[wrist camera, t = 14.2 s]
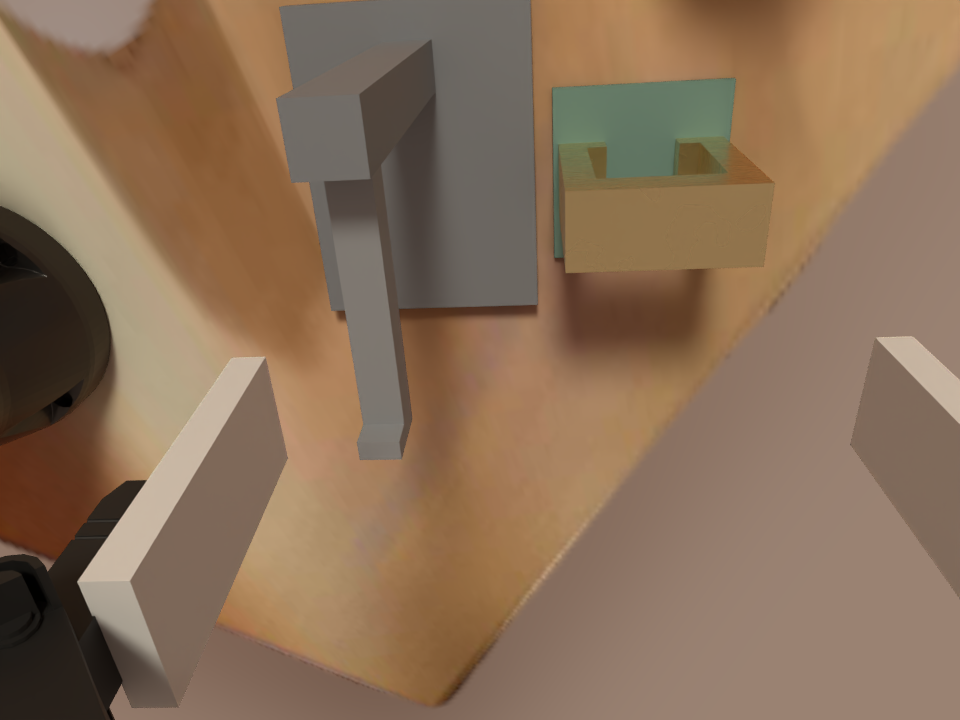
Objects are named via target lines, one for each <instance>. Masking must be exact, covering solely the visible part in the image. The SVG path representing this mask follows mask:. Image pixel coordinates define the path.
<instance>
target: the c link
mask: <svg viewBox="0 0 960 720" xmlns="http://www.w3.org/2000/svg"><path fill="white" fill-rule="evenodd" d="M558 166H559V217H560V226H561V236H562V245H563V254H564V264H565V273H587V272H618V271H649V270H680V269H711V268H742V267H764V260H765V253H766V245H767V238H768V230H769V223H770V215H771V208H772V200H773V193H774V185H775V183H774V182H773V181H772V180H771V179H770V178H769V177H768V176H767V175H766V174H764V173H763V172H762V171H761V170H760V169H759V168H758V167H757V166H756V165H755V164H753V163H752V162H751V161H750V160H749V159H748V158H747V157H746V156H745V155H744V154H742V153H741V152H740V151H739V150H738V149H737V148H736V147H735V146H734V145H733V144H732V143H730V142H729V141H728V140H727V139H726V138H725V137H724V136H717V137H696V138H676V141H675V156H674V171H673V176H650V177H627V178H606V167H607V146H606V143H605V142H589V143H568V144H558Z"/></svg>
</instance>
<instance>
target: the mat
mask: <svg viewBox="0 0 960 720" xmlns="http://www.w3.org/2000/svg"><path fill="white" fill-rule="evenodd" d="M735 83H736V79H735V78H724V79H705V80H686V81H668V82H649V83H630V84H612V85H593V86H574V87H555V88H552V105H553V188H554V258H563V257H564V254H563V245H562V236H561V226H560V217H559V166H558V144H568V143H589V142H605V143H606V146H607V167H606V178H627V177H650V176H673V171H674V156H675V141H676V138H696V137H717V136H724V137H725V138H726V139H727V140H728V141H729V142H730V132H731V123H732V113H733V103H734V93H735Z"/></svg>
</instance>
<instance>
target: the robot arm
mask: <svg viewBox="0 0 960 720" xmlns="http://www.w3.org/2000/svg"><path fill="white" fill-rule="evenodd" d="M109 352H110V335H109V327H108V323H107V318H106V315H105V312H104V309H103V306H102V303H101V301H100V299H99V296H98V294H97V292H96V290H95V289H94V287H93V285H92V283H91V282H90V280H89V278H88V277H87V275H86V274H85V273H84V271H83V270H82V268H81V267H80V266H79V265H78V263H77V262H76V261H75V260H74V258H73V257H72V256H71V255H70V254H69V253H68V252H67V251H66V250H65V249H64V248H63V247H62V246H61V245H60V244H59V243H58V242H57V241H56V240H54V239H53V238H52V237H51V236H50V235H48V234H47V233H46V232H45V231H43V230H42V229H41V228H39V227H38V226H36V225H35V224H33V223H32V222H30V221H29V220H27V219H25V218H24V217H22V216H20V215H18V214H17V213H15V212H12V211H10V210H8V209H6V208H4V207H2V206H0V445H3V444H6V443H8V442H11V441H13V440H16V439H18V438H21V437H23V436H26V435H28V434H31V433H33V432H36V431H38V430H41V429H43V428H46V427H48V426H50V425H52V424H54V423H56V422H58V421H60V420H61V419H63V418H64V417H66V416H67V415H68V414H70V413H71V412H72V411H73V410H74V409H75V408H76V407H77V406H78V405H79V404H80V403H81V402H83V401H84V400H85V399H86V398H87V397H88V396H89V395H90V394H91V393H92V392H93V390H94V389H95V388H96V387H97V385H98V384H99V382H100V381H101V379H102V377H103V375H104V372H105V370H106V367H107V363H108V359H109ZM850 445H851V446H852V448H853V449H854V450H855V452H856V453H857V455H858V456H859V457H860V459H861V460H862V462H863V463H864V465H865V466H866V467H867V469H868V470H869V471H870V473H871V474H872V476H873V477H874V479H875V480H876V481H877V483H878V484H879V485H880V487H881V488H882V490H883V491H884V493H885V494H886V495H887V497H888V498H889V500H890V501H891V502H892V504H893V505H894V507H895V508H896V509H897V511H898V512H899V514H900V515H901V517H902V518H903V519H904V521H905V522H906V524H907V525H908V526H909V528H910V529H911V531H912V532H913V533H914V535H915V536H916V538H917V539H918V541H919V542H920V543H921V545H922V546H923V547H924V549H925V550H926V552H927V553H928V555H929V556H930V557H931V559H932V560H933V561H934V563H935V565H936V566H937V567H938V569H939V570H940V572H941V573H942V574H943V576H944V577H945V579H946V580H947V581H948V583H949V584H950V586H951V587H952V588H953V590H954V591H955V593H956V594H957V595H958V597H959V598H960V380H959V379H958V378H957V377H956V376H955V375H953V374H952V373H951V372H950V371H949V370H948V369H947V368H946V367H945V366H944V365H943V364H942V363H941V362H940V361H938V360H937V359H936V358H935V357H934V356H933V355H932V354H931V353H930V352H929V351H928V350H927V349H926V348H924V347H923V346H922V345H921V344H920V343H919V342H918V341H917V340H916V339H915V338H914V337H912V336H908V337H877V338H875V341H874V345H873V350H872V353H871V358H870V362H869V366H868V371H867V375H866V379H865V383H864V388H863V392H862V396H861V401H860V405H859V409H858V414H857V418H856V422H855V426H854V431H853V435H852V439H851V444H850ZM287 459H288V457H287V452H286V448H285V443H284V439H283V434H282V429H281V425H280V420H279V416H278V411H277V407H276V402H275V398H274V393H273V388H272V384H271V379H270V375H269V370H268V366H267V361H266V357H241V358H231V359H230V361H229V362H228V364H227V365H226V367H225V368H224V369H223V371H222V372H221V374H220V375H219V377H218V378H217V380H216V381H215V383H214V384H213V385H212V387H211V388H210V390H209V391H208V393H207V394H206V396H205V397H204V398H203V400H202V401H201V403H200V404H199V406H198V407H197V409H196V410H195V412H194V413H193V414H192V416H191V417H190V419H189V420H188V422H187V423H186V425H185V426H184V428H183V429H182V430H181V432H180V433H179V435H178V436H177V438H176V439H175V441H174V442H173V443H172V445H171V446H170V448H169V449H168V451H167V452H166V454H165V455H164V457H163V458H162V459H161V461H160V462H159V464H158V465H157V467H156V468H155V470H154V471H153V473H152V474H151V475H150V477H149V478H148V480H138V481H126V482H124V483H123V484H122V485H120V486H119V487H118V488H116V489H115V490H114V491H112V492H111V493H110V494H108V495H107V496H106V497H104V498H103V499H102V500H101V501H100V503H99V504H98V505H97V507H96V508H95V509H94V511H93V512H92V514H91V515H90V516H89V518H88V519H87V523H84V524H83V526H82V527H81V528H80V530H79V531H78V532H77V534H76V535H75V540H71V542H70V543H69V544H68V546H67V547H66V548H65V550H64V551H63V552H62V554H61V555H60V556H59V558H58V559H57V560H56V562H55V563H54V564H53V566H52V567H51V568H50V570H49V571H48V572H47V570H46V567H45V565H44V564H43V563H42V562H41V561H40V560H39V559H38V558H37V557H33V556H29V555H25V554H21V555H11V556H4V557H1V558H0V720H115V719H114V717H113V714H112V712H111V710H110V708H109V706H110V704H111V702H112V701H113V699H114V697H115V695H116V693H117V691H118V689H119V687H120V686H121V684H122V686H123V688H124V691H125V693H126V695H127V698H128V700H129V702H130V705H131V707H132V708H157V707H158V708H159V707H160V708H163V707H165V708H166V707H167V708H168V707H179V705H180V703H181V701H182V699H183V696H184V694H185V692H186V689H187V687H188V685H189V683H190V680H191V678H192V676H193V673H194V671H195V669H196V667H197V664H198V662H199V660H200V657H201V655H202V653H203V651H204V648H205V646H206V644H207V641H208V639H209V637H210V635H211V632H212V630H213V628H214V625H215V623H216V621H217V619H218V616H219V614H220V612H221V609H222V607H223V605H224V603H225V600H226V598H227V596H228V593H229V591H230V589H231V587H232V584H233V582H234V580H235V577H236V575H237V573H238V571H239V568H240V566H241V564H242V561H243V559H244V557H245V555H246V552H247V550H248V548H249V545H250V543H251V541H252V539H253V536H254V534H255V532H256V529H257V527H258V525H259V523H260V520H261V518H262V516H263V513H264V511H265V509H266V507H267V504H268V502H269V500H270V497H271V495H272V493H273V491H274V488H275V486H276V484H277V481H278V479H279V477H280V475H281V472H282V470H283V468H284V465H285V463H286V461H287Z"/></svg>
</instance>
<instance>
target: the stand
mask: <svg viewBox="0 0 960 720" xmlns="http://www.w3.org/2000/svg"><path fill="white" fill-rule="evenodd" d="M279 9H280V14H281V20H282V26H283V32H284V38H285V43H286V49H287V55H288V61H289V67H290V72H291V78H292V84H293V90H291V91H289V92H288V93H286V94H284V95H282V96H280V97H278V98H276V101H277V106H278V112H279V117H280V123H281V128H282V134H283V139H284V145H285V150H286V155H287V161H288V166H289V172H290V177H291V183H296V182H309V183H310V189H311V195H312V200H313V206H314V212H315V218H316V224H317V230H318V235H319V241H320V247H321V253H322V259H323V264H324V270H325V276H326V282H327V288H328V293H329V299H330V305H331V311H341V310H345V314H346V320H347V326H348V332H349V338H350V345H351V351H352V357H353V363H354V369H355V375H356V382H357V388H358V394H359V400H360V406H361V412H362V418H363V427H362V430H361V433H360V436H359V438H358V441H357V446H358V451H359V457H360V460H391V459H402V456H403V452H404V448H405V445H406V441H407V437H408V433H409V429H410V426H411V422H412V412H411V404H410V396H409V388H408V380H407V372H406V363H405V355H404V347H403V339H402V331H401V323H400V315H399V309H410V308H445V307H479V306H514V305H538V293H537V251H536V210H535V169H534V127H533V86H532V45H531V4H530V0H366V1H351V2H335V3H320V4H304V5H289V6H282V7H279Z"/></svg>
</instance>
